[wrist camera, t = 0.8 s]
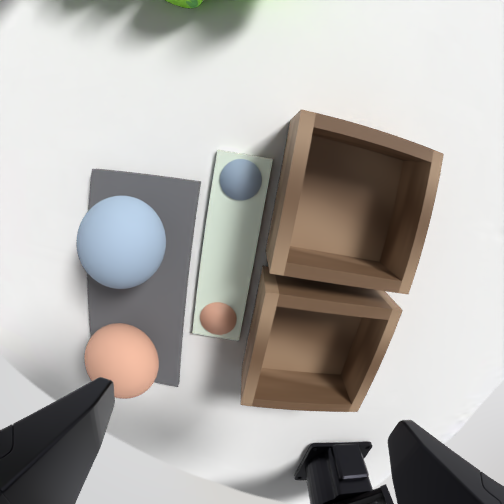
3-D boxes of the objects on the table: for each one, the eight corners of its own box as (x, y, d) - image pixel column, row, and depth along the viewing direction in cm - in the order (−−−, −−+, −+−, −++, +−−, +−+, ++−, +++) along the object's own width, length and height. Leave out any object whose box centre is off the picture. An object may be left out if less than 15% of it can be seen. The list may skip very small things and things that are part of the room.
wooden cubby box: (343, 377, 22) (357, 411, 18) (241, 367, 22) (240, 404, 18) (377, 284, 20) (402, 310, 16) (262, 265, 19) (265, 291, 16)
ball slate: (171, 276, 19) (147, 313, 14) (99, 262, 19) (61, 293, 14) (180, 196, 18) (155, 210, 13) (103, 186, 17) (60, 197, 12)
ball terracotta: (165, 374, 21) (149, 421, 16) (104, 359, 21) (78, 401, 16) (167, 318, 20) (147, 362, 15) (100, 303, 20) (66, 340, 15)
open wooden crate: (382, 270, 20) (408, 294, 16) (265, 250, 19) (269, 273, 15) (409, 153, 17) (443, 153, 14) (290, 120, 17) (301, 109, 13)
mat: (179, 382, 22) (177, 387, 22) (96, 362, 22) (94, 366, 21) (201, 181, 18) (199, 182, 17) (96, 168, 18) (92, 169, 17)
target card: (238, 338, 21) (238, 341, 21) (192, 331, 21) (192, 334, 20) (272, 159, 18) (272, 159, 17) (218, 150, 17) (217, 149, 17)
